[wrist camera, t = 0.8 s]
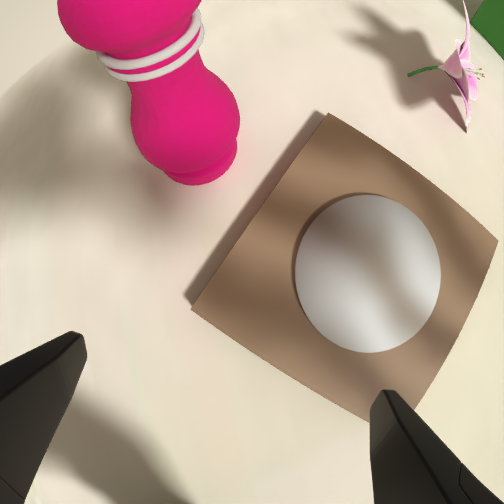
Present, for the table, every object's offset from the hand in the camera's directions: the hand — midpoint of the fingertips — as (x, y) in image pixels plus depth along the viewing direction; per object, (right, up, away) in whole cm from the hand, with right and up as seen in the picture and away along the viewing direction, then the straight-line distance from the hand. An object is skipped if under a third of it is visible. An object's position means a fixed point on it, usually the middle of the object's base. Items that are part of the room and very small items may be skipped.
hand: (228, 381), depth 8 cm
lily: (+20, +19, +16) cm, 32 cm away
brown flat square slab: (+9, +2, +14) cm, 17 cm away
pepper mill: (-4, +12, +16) cm, 20 cm away
